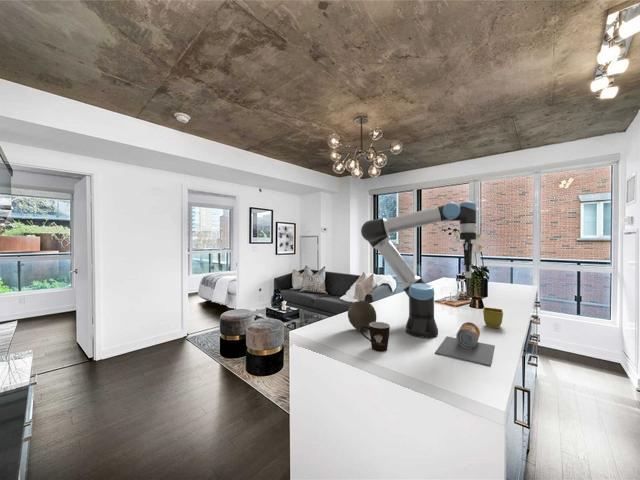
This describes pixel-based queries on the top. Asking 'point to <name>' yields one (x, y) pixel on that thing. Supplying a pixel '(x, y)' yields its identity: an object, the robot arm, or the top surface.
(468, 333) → the canned food
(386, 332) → the coffee mug
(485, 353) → the mat
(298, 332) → the top surface
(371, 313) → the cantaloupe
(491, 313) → the flower pot
